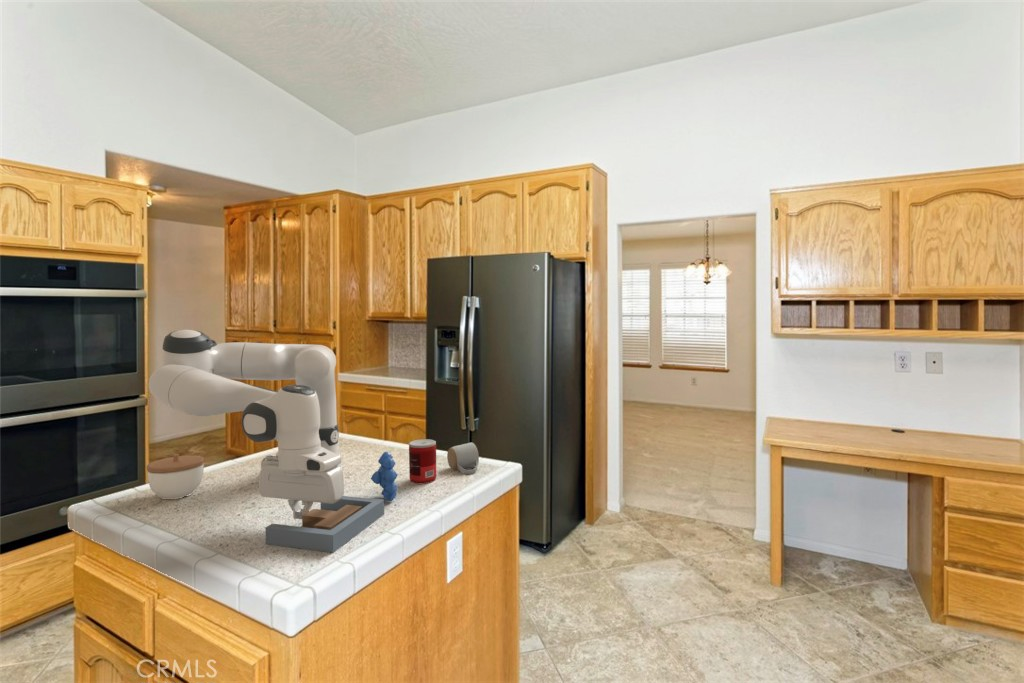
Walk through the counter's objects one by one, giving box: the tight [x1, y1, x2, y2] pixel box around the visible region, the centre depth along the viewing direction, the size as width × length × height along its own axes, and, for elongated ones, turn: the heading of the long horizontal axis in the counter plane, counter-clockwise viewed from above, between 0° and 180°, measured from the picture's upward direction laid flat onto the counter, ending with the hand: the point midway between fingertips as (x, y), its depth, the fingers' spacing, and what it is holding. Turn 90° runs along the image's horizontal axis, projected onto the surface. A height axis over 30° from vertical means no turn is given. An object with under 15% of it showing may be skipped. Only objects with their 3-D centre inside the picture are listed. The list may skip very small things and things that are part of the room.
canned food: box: [408, 438, 437, 485], centre depth 141 cm, size 8×8×11 cm
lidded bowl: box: [146, 453, 205, 500], centre depth 130 cm, size 13×13×11 cm
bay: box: [264, 495, 385, 554], centre depth 108 cm, size 16×20×4 cm
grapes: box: [370, 451, 399, 502], centre depth 126 cm, size 12×7×12 cm, turn 27°
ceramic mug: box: [446, 442, 480, 475], centre depth 151 cm, size 11×8×8 cm
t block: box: [301, 505, 362, 530], centre depth 108 cm, size 10×12×3 cm
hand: (301, 518), depth 110 cm, fingers closed
